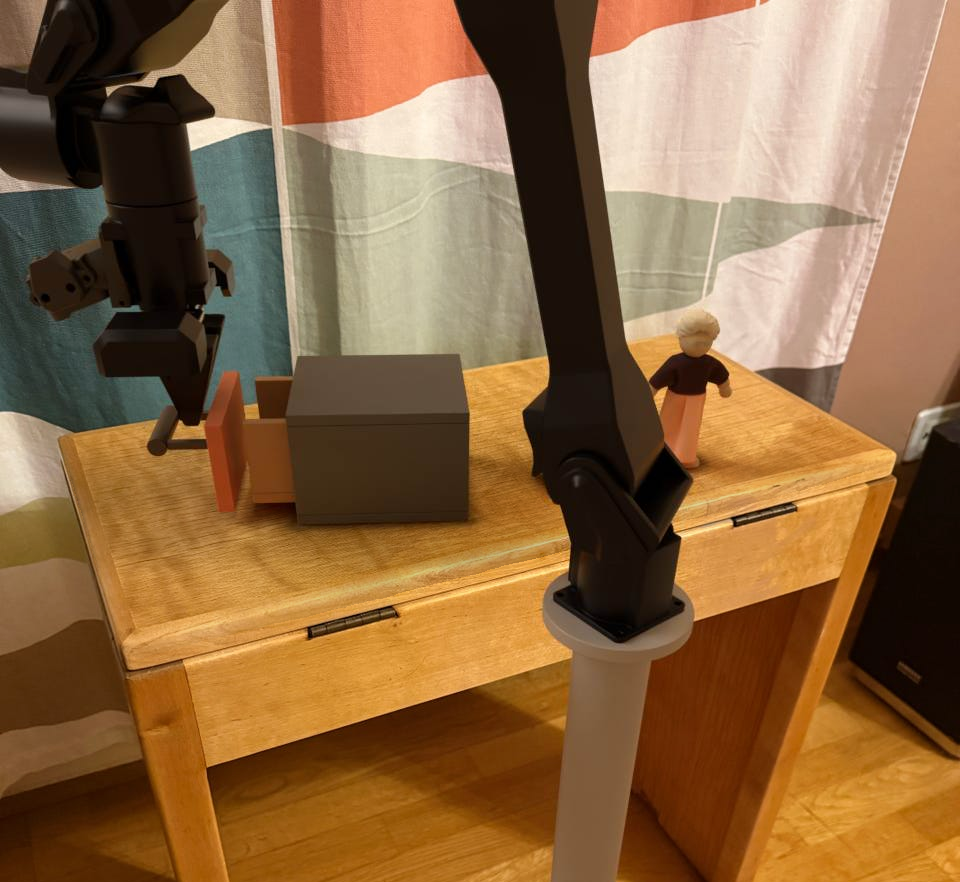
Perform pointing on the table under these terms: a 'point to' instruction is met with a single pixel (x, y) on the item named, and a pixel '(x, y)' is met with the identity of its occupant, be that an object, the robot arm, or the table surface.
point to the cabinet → (379, 439)
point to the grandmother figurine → (689, 383)
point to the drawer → (239, 440)
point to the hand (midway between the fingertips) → (192, 424)
